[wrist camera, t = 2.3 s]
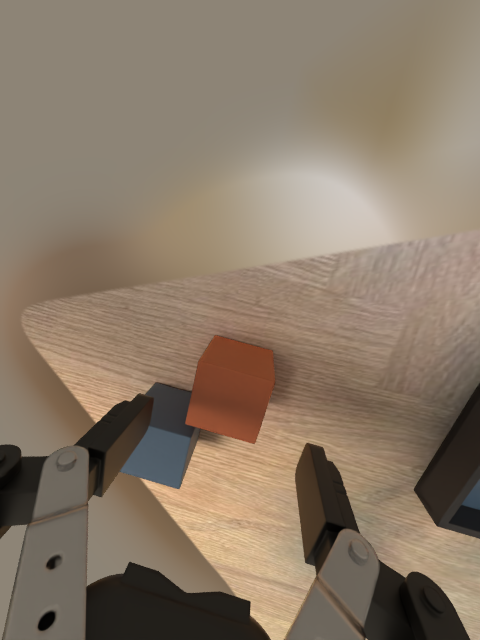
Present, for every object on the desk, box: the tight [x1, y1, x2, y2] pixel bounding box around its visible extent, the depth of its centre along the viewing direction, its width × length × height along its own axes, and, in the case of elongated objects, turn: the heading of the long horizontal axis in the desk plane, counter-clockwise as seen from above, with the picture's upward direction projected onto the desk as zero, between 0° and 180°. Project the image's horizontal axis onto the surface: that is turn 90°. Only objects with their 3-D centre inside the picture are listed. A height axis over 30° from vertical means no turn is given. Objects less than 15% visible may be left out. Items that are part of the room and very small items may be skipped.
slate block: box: [119, 383, 200, 489], centre depth 18 cm, size 5×5×5 cm
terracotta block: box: [185, 335, 275, 444], centre depth 16 cm, size 5×5×5 cm
